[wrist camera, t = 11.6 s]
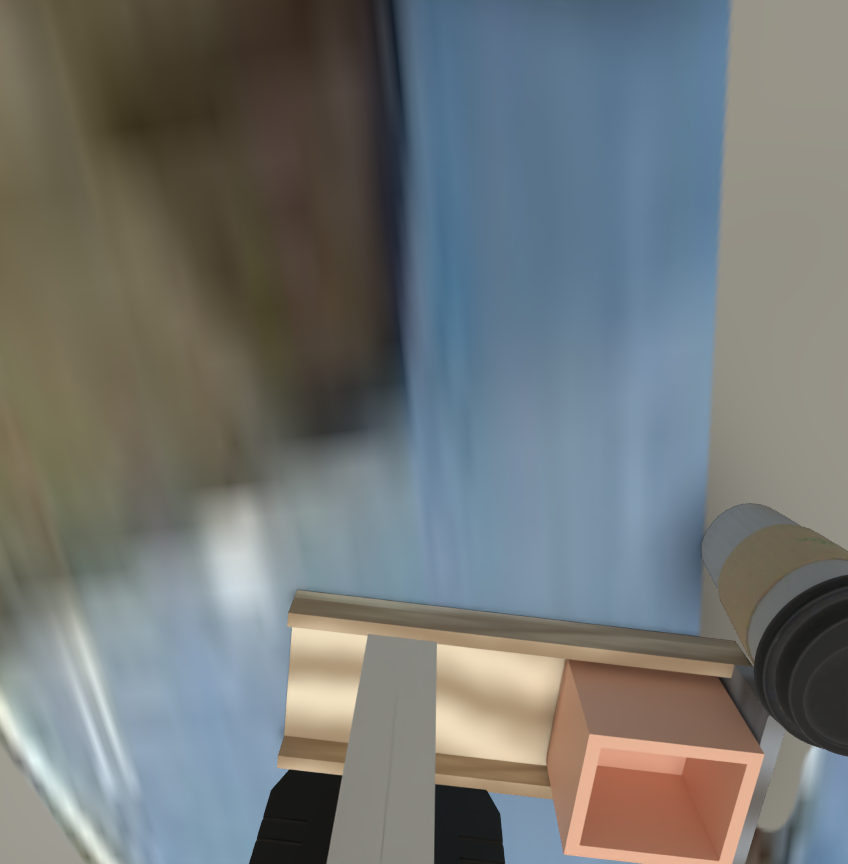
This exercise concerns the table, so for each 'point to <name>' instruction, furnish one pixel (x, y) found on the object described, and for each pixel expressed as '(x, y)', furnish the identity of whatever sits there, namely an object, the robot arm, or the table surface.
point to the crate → (649, 765)
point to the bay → (488, 687)
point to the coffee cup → (787, 617)
